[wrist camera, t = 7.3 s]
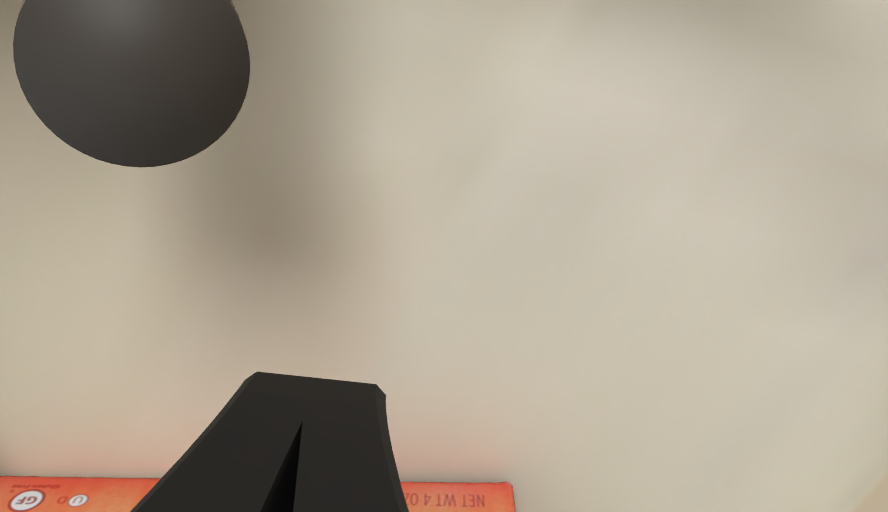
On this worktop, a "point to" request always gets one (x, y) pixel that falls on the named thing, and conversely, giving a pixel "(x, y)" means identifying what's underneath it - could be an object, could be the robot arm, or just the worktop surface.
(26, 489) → the cracker box
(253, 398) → the robot arm
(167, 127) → the lever
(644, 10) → the worktop surface
